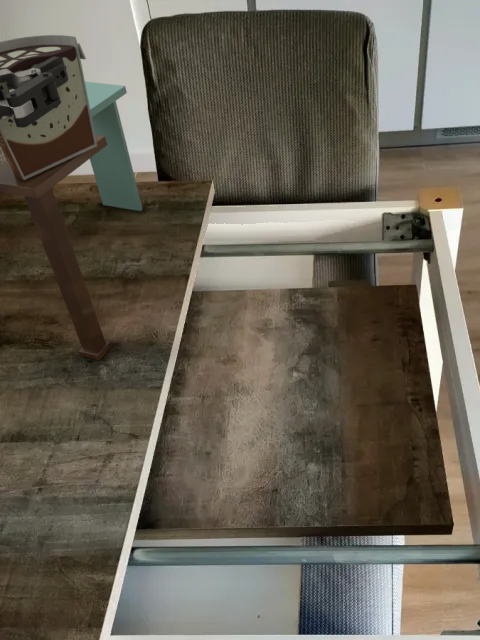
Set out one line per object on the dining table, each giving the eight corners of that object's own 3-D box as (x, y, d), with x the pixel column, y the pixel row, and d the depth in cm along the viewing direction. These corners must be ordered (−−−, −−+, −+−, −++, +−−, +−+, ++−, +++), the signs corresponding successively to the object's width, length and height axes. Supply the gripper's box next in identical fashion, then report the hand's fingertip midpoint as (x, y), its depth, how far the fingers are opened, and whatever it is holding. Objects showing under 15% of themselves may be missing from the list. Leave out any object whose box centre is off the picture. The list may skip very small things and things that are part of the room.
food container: (70, 129, 72) (39, 27, 65) (108, 141, 70) (79, 35, 63) (-27, 172, 65) (-74, 62, 58) (10, 186, 63) (-34, 73, 56)
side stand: (51, 352, 81) (-23, 179, 65) (106, 295, 89) (52, 129, 72) (98, 363, 79) (34, 188, 63) (150, 304, 87) (105, 135, 71)
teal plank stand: (65, 237, 99) (23, 119, 86) (115, 194, 108) (83, 81, 95) (104, 245, 97) (68, 124, 84) (152, 200, 106) (125, 85, 93)
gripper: (-48, 93, 48) (81, 25, 59) (-193, 75, 52) (-47, 14, 62) (-8, 190, 53) (103, 112, 64) (-142, 168, 57) (-15, 97, 68)
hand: (29, 64), depth 63 cm, fingers closed on food container, 7 cm apart
